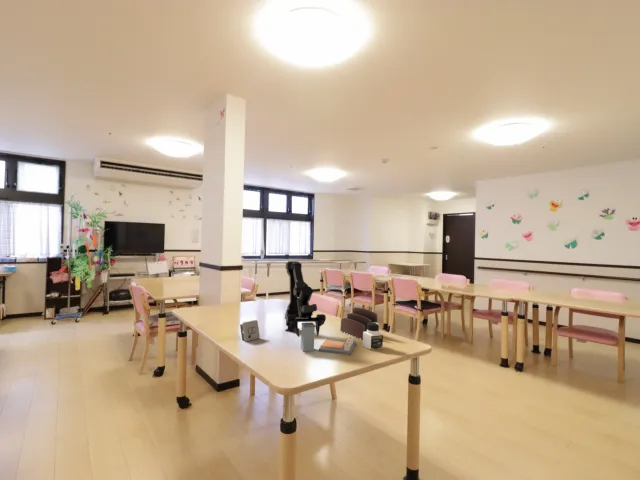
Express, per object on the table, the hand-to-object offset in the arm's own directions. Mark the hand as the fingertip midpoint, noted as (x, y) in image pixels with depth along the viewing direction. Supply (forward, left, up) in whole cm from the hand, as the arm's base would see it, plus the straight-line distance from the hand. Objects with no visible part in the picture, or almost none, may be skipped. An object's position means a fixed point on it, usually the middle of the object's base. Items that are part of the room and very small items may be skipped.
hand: (308, 335), depth 154 cm
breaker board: (-10, +12, -7) cm, 17 cm away
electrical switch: (-6, -33, -7) cm, 34 cm away
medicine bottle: (-16, +28, -7) cm, 33 cm away
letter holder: (-36, +19, -7) cm, 42 cm away
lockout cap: (-1, -1, -7) cm, 7 cm away
